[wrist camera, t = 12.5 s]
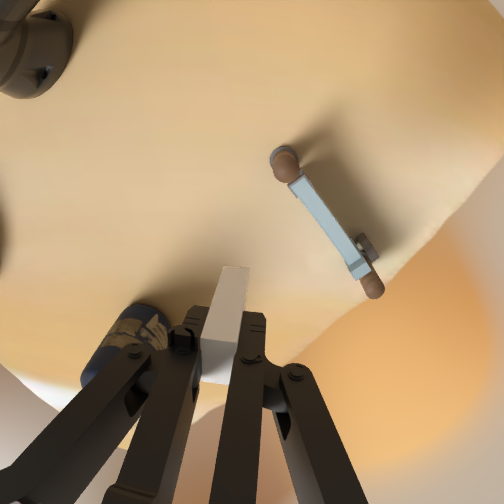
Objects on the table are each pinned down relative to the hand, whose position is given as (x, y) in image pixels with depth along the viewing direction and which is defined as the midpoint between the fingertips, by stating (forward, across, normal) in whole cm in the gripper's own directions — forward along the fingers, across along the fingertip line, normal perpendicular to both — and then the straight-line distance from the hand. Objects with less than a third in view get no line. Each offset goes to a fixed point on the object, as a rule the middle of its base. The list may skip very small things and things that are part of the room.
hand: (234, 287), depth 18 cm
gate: (+22, +9, -1) cm, 24 cm away
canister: (+23, -16, -23) cm, 36 cm away
